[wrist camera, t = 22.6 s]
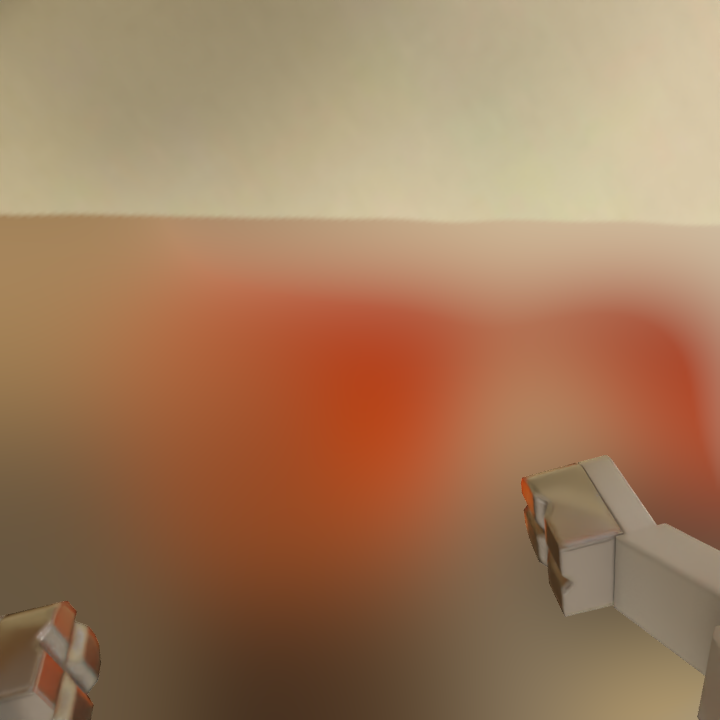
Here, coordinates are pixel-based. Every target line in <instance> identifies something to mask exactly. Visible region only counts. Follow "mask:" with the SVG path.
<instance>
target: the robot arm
mask: <svg viewBox="0 0 720 720" xmlns="http://www.w3.org/2000/svg"><path fill="white" fill-rule="evenodd" d="M521 486H522V494H523V496H524V498H525V500H526V502H527V504H528V505H527V506H526V508H525V509H524V515H525V523H526V527H527V531H528V535H529V538H530V541H531V543H532V546H533V549H534V551H535V553H536V555H537V558H538V560H539V562H541V563H542V564H544V565H545V566H547V567H548V575H549V584H550V586H551V588H552V591H553V593H554V595H555V597H556V599H557V601H558V603H559V605H560V608H561V610H562V612H563V614H564V616H569V615H574V614H578V613H582V612H586V611H590V610H594V609H598V608H603V607H607V606H611V605H614V608H616V609H617V610H618V611H620V612H621V613H622V614H624V615H625V616H626V617H627V618H629V619H630V620H631V621H633V622H634V623H636V624H637V625H638V626H640V627H641V628H642V629H644V630H645V631H646V632H648V633H649V634H650V635H652V636H653V637H654V638H655V639H657V640H658V641H659V642H661V643H662V644H663V645H665V646H666V647H667V648H669V649H670V650H671V651H673V652H674V653H675V654H677V655H678V656H680V657H681V658H682V659H683V660H685V661H686V662H687V663H689V664H690V665H692V666H693V667H694V668H695V669H697V670H698V671H699V672H701V673H702V674H703V675H705V679H704V685H703V690H702V695H701V700H700V706H699V711H698V716H697V717H698V719H699V720H720V551H718V550H717V549H715V548H713V547H711V546H709V545H707V544H705V543H703V542H701V541H699V540H697V539H695V538H693V537H691V536H689V535H687V534H685V533H683V532H682V531H680V530H678V529H676V528H674V527H672V526H670V525H668V524H666V523H665V524H661V525H656V523H655V522H654V520H653V519H652V517H651V516H650V515H649V513H648V512H647V510H646V509H645V507H644V506H643V504H642V503H641V501H640V500H639V498H638V497H637V495H636V494H635V493H634V491H633V490H632V488H631V487H630V485H629V484H628V482H627V481H626V479H625V478H624V476H623V475H622V474H621V472H620V471H619V469H618V468H617V467H616V465H615V463H614V462H613V461H612V459H611V458H610V457H608V456H607V455H604V456H601V457H597V458H593V459H589V460H586V461H582V462H578V463H573V464H570V465H566V466H563V467H559V468H555V469H552V470H548V471H545V472H541V473H538V474H534V475H530V476H527V477H523V478H522V481H521ZM76 613H77V612H76V610H75V609H74V608H73V607H72V606H71V605H70V604H69V602H68V601H64V602H58V603H54V604H50V605H46V606H42V607H37V608H33V609H29V610H25V611H21V612H16V613H12V614H8V615H5V616H1V617H0V720H91V716H92V711H93V706H94V705H93V703H92V702H91V700H90V698H89V697H88V695H87V694H88V693H89V691H90V690H91V689H92V687H93V686H94V685H95V683H96V682H97V680H98V677H99V671H100V665H101V660H100V649H99V644H98V641H97V639H96V636H95V634H94V633H93V631H92V630H91V629H90V627H89V626H87V625H84V624H81V623H78V622H75V617H76Z"/></svg>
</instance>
